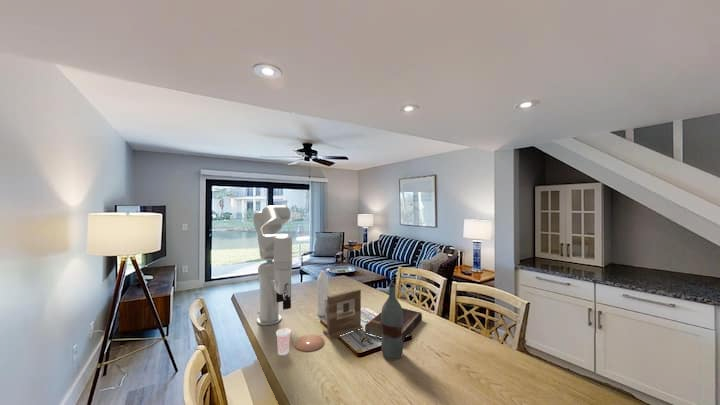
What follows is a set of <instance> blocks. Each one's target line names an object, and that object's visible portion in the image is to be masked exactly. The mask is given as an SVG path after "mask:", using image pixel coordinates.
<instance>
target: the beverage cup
mask: <svg viewBox="0 0 720 405" xmlns="http://www.w3.org/2000/svg"><path fill="white" fill-rule="evenodd" d="M291 331H292V330H291V328H288V327H287V328H286V327H285V320H284V319H282V328H279V329H278V330H276V332H275V335H276V343H277V354H278V355H280V356H285V355H286V356H287V354H289V353H290V338H291Z"/></svg>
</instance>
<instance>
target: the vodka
mask: <svg viewBox="0 0 720 405" xmlns="http://www.w3.org/2000/svg"><path fill="white" fill-rule="evenodd" d="M388 286H389V287H388V297H387V299H386V300H385V302H384V304H383V305H382V308H381V312H380V313H381V319H382V331H383V334H382V339H381V343H380V346H381V354H382V357H383V358H385V359H386V360H389V361H397V360H400V359H401V358H402V356H403V351H404V341H402V323H403V311H402V308H403V307H402V305H401V304H400V302H399V299H397V297H396V284H395V283H389V284H388Z"/></svg>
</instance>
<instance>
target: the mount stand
mask: <svg viewBox="0 0 720 405" xmlns="http://www.w3.org/2000/svg"><path fill="white" fill-rule="evenodd" d="M361 297H362V294H361V289H358V288H357V289H354V290H353V289H352V290H349V291H344V292H340V293H336V294H335V293H334V294H332V295H330V294H329V296H327V298H326V299H325V316H324V318H325V320H327V322H326V325H327V326H326V327H327V328H325V329H323V330H322V334H324V335H325V336H326V337H327V338H328V339H329V340H333V339H337V338H340V337H339V336H340V335H343V334H346V333H348V332H351V331H355V330H358V329H361V328H362V329H363V325H362V322H361V321H362V319H361V316H362V314H361V313H362V310H361V307H362V302H361V301H362V300H361V299H362V298H361Z"/></svg>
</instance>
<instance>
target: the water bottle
mask: <svg viewBox="0 0 720 405" xmlns="http://www.w3.org/2000/svg"><path fill="white" fill-rule="evenodd" d="M330 271H331V268H326V269H325V270H320V274H319V275H318V276H317V279H316V284H317V285H316V288H317V293H316V296H317V297H316V300H317V301H316V302H317V303H316V304H317V306H316V307H317V311H316V313H317V314H316V315H317V316H318V317H325V299H326V298H327V296H330V294H329V292H330V290H329V286H330V284H329V281H330V280H329V276H328V275H327V274H326V272H330Z"/></svg>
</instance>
